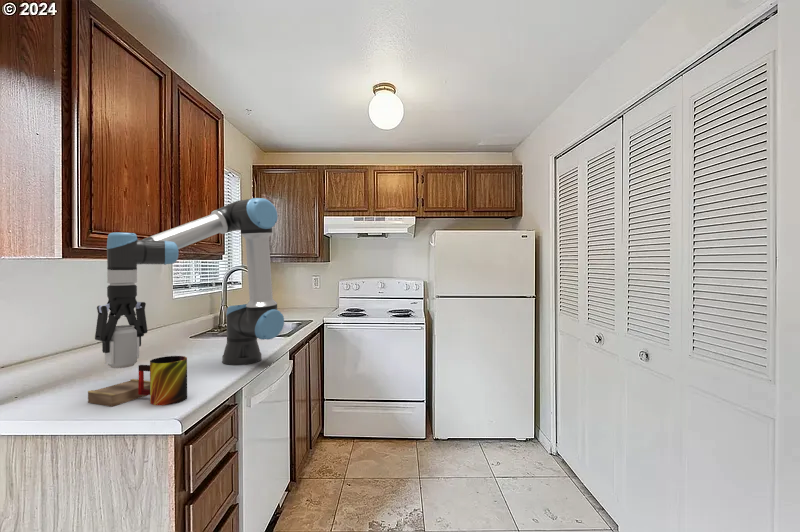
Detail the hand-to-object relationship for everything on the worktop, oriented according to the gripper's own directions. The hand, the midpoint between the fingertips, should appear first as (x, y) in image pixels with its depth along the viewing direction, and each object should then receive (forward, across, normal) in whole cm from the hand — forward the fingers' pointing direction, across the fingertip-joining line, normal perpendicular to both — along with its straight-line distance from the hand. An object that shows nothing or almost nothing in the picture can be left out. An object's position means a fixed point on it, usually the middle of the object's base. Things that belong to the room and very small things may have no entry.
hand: (122, 360), depth 131 cm
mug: (+11, -2, +13) cm, 17 cm away
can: (+2, 0, 0) cm, 2 cm away
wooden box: (+11, 0, 0) cm, 11 cm away
